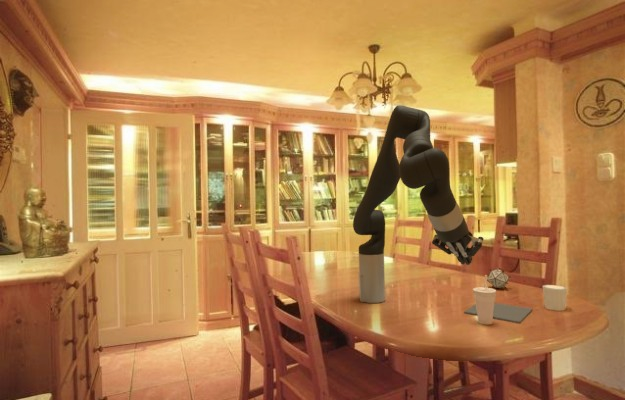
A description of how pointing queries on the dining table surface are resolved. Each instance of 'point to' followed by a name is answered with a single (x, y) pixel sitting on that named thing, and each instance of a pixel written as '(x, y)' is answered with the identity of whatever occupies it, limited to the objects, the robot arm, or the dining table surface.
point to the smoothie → (484, 303)
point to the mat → (505, 312)
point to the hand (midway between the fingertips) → (466, 261)
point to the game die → (498, 278)
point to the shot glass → (555, 297)
